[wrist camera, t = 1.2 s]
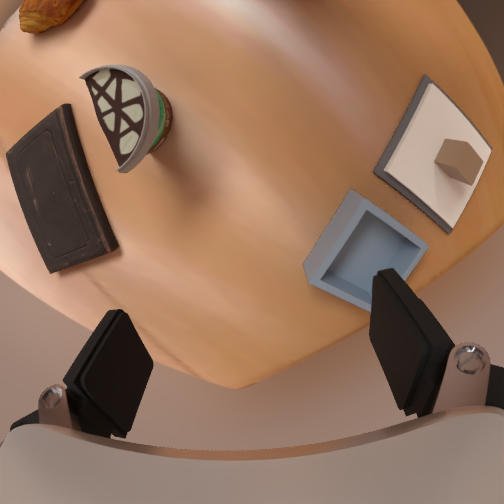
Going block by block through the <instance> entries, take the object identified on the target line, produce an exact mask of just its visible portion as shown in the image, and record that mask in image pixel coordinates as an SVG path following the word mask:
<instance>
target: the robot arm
mask: <svg viewBox="0 0 504 504" xmlns="http://www.w3.org/2000/svg"><path fill="white" fill-rule="evenodd" d="M369 336H370V341H371V343H372V345H373V348H374V350H375V352H376V354H377V357H378V359H379V361H380V364H381V366H382V369H383V371H384V373H385V376H386V378H387V381H388V383H389V386H390V388H391V391H392V393H393V396H394V398H395V400H396V403H397V406H398V408H399V409H400V410H402V409H403V410H404V412H405V415H406V416H409V415H411V414H414V413H416V414H417V416H418V418H417V419H413V420H410V421H407V422H403V423H400V424H397V425H394V426H390V427H387V428H383V429H380V430H376V431H373V432H368V433H364V434H360V435H356V436H351V437H347V438H343V439H338V440H332V441H327V442H322V443H315V444H309V445H302V446H294V447H285V448H274V449H261V450H240V451H239V450H238V451H213V450H211V451H209V450H188V449H176V448H165V447H157V446H150V445H142V444H136V443H130V442H124V441H119V440H114V439H111V438H110V436H111V433H112V434H113V435H114V436H115V437H120V438H126V435H127V432H129V431H130V430H131V428H132V425H133V422H134V419H135V416H136V413H137V410H138V407H139V405H140V401H141V399H142V396H143V393H144V391H145V388H146V385H147V382H148V380H149V377H150V374H151V372H152V369H153V360H152V358H151V356H150V355H149V353H148V351H147V349H146V348H145V346H144V344H143V342H142V340H141V338H140V337H139V335H138V333H137V331H136V329H135V327H134V325H133V323H132V321H131V319H130V317H129V315H128V314H127V313H125V312H124V311H123V310H122V309H117V310H109V311H108V312H107V313H106V314H105V316H104V317H103V319H102V320H101V321H100V323H99V324H98V326H97V327H96V329H95V330H94V332H93V333H92V335H91V336H90V338H89V339H88V341H87V342H86V344H85V345H84V347H83V349H82V350H81V351H80V353H79V354H78V356H77V358H76V359H75V361H74V363H73V364H72V366H71V367H70V369H69V371H68V372H67V374H66V375H65V377H64V379H63V382H64V383H65V384H66V385H67V389H64V387H63V386H62V385H59V384H55V385H52V386H50V387H48V388H46V389H45V390H44V391H43V392H42V394H41V395H40V398H39V401H38V410H36V411H34V412H32V413H31V414H29V415H27V416H25V417H23V418H21V419H20V420H18V421H16V422H14V423H13V424H12V425H11V428H10V433H9V434H8V436H7V437H6V439H5V440H4V441H3V442H2V443H1V444H0V504H504V368H503V367H499V366H495V365H492V364H490V357H489V354H488V352H487V351H486V350H485V349H484V348H483V347H482V346H480V345H479V344H476V343H473V342H464V343H460V344H458V345H456V346H455V344H454V343H453V341H452V340H451V339H450V337H449V336H448V334H447V333H446V332H445V330H444V329H443V327H442V326H441V325H440V323H439V322H438V321H437V319H436V318H435V317H434V315H433V314H432V313H431V311H430V310H429V309H428V307H426V305H425V304H424V302H423V301H422V300H421V299H419V298H418V297H417V296H416V295H415V293H414V292H413V291H412V290H411V288H410V287H409V286H408V285H407V284H406V282H405V281H404V280H403V279H402V278H401V276H400V275H399V274H398V273H397V272H396V270H395V269H394V268H389V269H384V270H379V271H378V272H377V275H375V276H373V281H372V303H371V317H370V329H369Z"/></svg>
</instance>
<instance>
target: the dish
mask: <svg viewBox="0 0 504 504" xmlns="http://www.w3.org/2000/svg"><path fill="white" fill-rule="evenodd" d="M428 247H429V245H428V244H427V243H425V242H424V241H423V240H422V239H420V238H419V237H418V236H417V235H415V234H414V233H413V232H411V231H410V230H409V229H407V228H406V227H405V226H404V225H402V224H401V223H399V222H398V221H397V220H395V219H394V218H393V217H391V216H390V215H389V214H387V213H386V212H384V211H383V210H382V209H380V208H379V207H377V206H376V205H374V204H373V203H371V202H370V201H369V200H367V199H366V198H364V197H363V196H361V195H360V194H358V193H357V192H355V191H354V190H352V189H350V190H349V192H348V193H347V195H346V197H345V198H344V200H343V202H342V203H341V205H340V207H339V208H338V210H337V211H336V213H335V215H334V216H333V218H332V219H331V221H330V223H329V224H328V226H327V227H326V229H325V231H324V232H323V234H322V235H321V237H320V238H319V240H318V242H317V243H316V245H315V246H314V248H313V249H312V251H311V252H310V254H309V256H308V257H307V259H306V260H305V262H304V263H303V266H304V270H305V273H306V276H307V279H308V283H309V284H312V285H314V286H316V287H318V288H320V289H322V290H324V291H326V292H328V293H331V294H333V295H335V296H337V297H339V298H341V299H343V300H345V301H347V302H350V303H352V304H354V305H356V306H358V307H360V308H362V309H364V310H366V311H369V312H371V303H372V281H373V276H375V275H377V272H378V271H379V270H384V269H389V268H394V269H395V270H396V272H397V273H398V274H399V275H400V276H401V278H402V279H403V280H404V281H405V280H406V279H407V278H408V276H409V275H410V273H411V272H412V271H413V269H414V268H415V266H416V265H417V263H418V262H419V261H420V259H421V258H422V256H423V255H424V253H425V252H426V250H427V249H428Z"/></svg>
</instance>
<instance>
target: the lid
mask: <svg viewBox="0 0 504 504" xmlns="http://www.w3.org/2000/svg"><path fill="white" fill-rule="evenodd" d="M491 151H492V150H491V149H490V148H489V146H488V145H487V144H486V142H485V141H484V140H483V138H482V137H481V136H480V135H479V133H478V132H477V131H476V130H475V128H474V127H473V126H472V125H471V124H470V122H469V121H468V120H467V119H466V118H465V117H464V115H463V114H462V113H461V112H460V111H459V110H458V109H457V108H456V107H455V105H454V104H453V103H452V102H451V101H450V100H449V99H448V98H447V97H446V96H445V95H444V94H443V93H442V92H441V91H440V90H439V89H438V88H437V87H436V86H435V85H434V84H433V83H432V84H428V86H427V89H426V91H425V93H424V95H423V97H422V99H421V101H420V103H419V105H418V107H417V109H416V111H415V113H414V115H413V117H412V119H411V121H410V123H409V125H408V127H407V129H406V131H405V133H404V134H403V136H402V138H401V140H400V142H399V144H398V146H397V147H396V149H395V151H394V153H393V155H392V157H391V158H390V160H389V162H388V164H387V165H386V167H385V169H384V171H385V172H387V173H388V174H389V175H391V176H392V177H393V178H395V179H396V180H397V181H398V182H400V183H401V184H402V185H403V186H405V187H406V188H407V189H408V190H409V191H411V192H412V193H413V194H414V195H415V196H417V197H418V198H419V199H420V200H421V201H423V202H424V203H425V204H426V205H427V206H428V207H429V208H430V209H432V210H433V211H434V212H435V213H436V214H437V215H438V216H439V217H440V218H441V219H442V220H444V221H445V222H446V223H447V224H448V225H449V226H450V227H452V228H453V227H454V226H455V224H456V222H457V220H458V219H459V217H460V215H461V213H462V212H463V210H464V208H465V206H466V204H467V202H468V200H469V199H470V197H471V195H472V193H473V191H474V189H475V187H476V185H477V183H478V180H479V178H480V176H481V174H482V172H483V170H484V167H485V165H486V163H487V161H488V158H489V156H490V153H491Z"/></svg>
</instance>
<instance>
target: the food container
mask: <svg viewBox="0 0 504 504" xmlns="http://www.w3.org/2000/svg"><path fill="white" fill-rule="evenodd" d="M79 78H81V79H84V80H85V81H86V85H87V87H88V89H89V92H90V95H91V97H92V101H93V104H94V108H95V111H96V115H97V118H98V121H99V123H100V125H101V127H102V129H103V131H104V133H105V135H106V137H107V140H108V142H109V144H110V146H111V149H112V151H113V153H114V155H115V158H116V160H117V162H118V165H119V168H118V169H117V170H115V172H116V171H119V173H128V172H129V171H130V170H132V169H133V168H134V167H135V166H136V165H138V164H139V163H140V162H141V160H142V159H143V158H144V157H145V155H147V154H149V153H151V152H152V151H154V150H155V149H157V148H158V147H159V146H160V145H161V143H162V142H163V141H164V140H165V139H166V137H167V135H168V133H169V131H170V129H171V123H172V118H173V116H172V108H171V105H170V102H169V101H168V99H167V97H166V96H165V95H164V94H163V93H162V92H160V91H159V90H157V89H156V88H154V87H153V85H152V83H151V81H150V80H149V79H148V78H147V77H146V76H145V75H144V74H143V73H142V72H140V71H139V70H137V69H135V68H133V67H130V66H126V65H106V66H101V67H97V68H95V69H92V70H90V71H88V72H86V73H84V74H83V75H81V76H80V77H79Z"/></svg>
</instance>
